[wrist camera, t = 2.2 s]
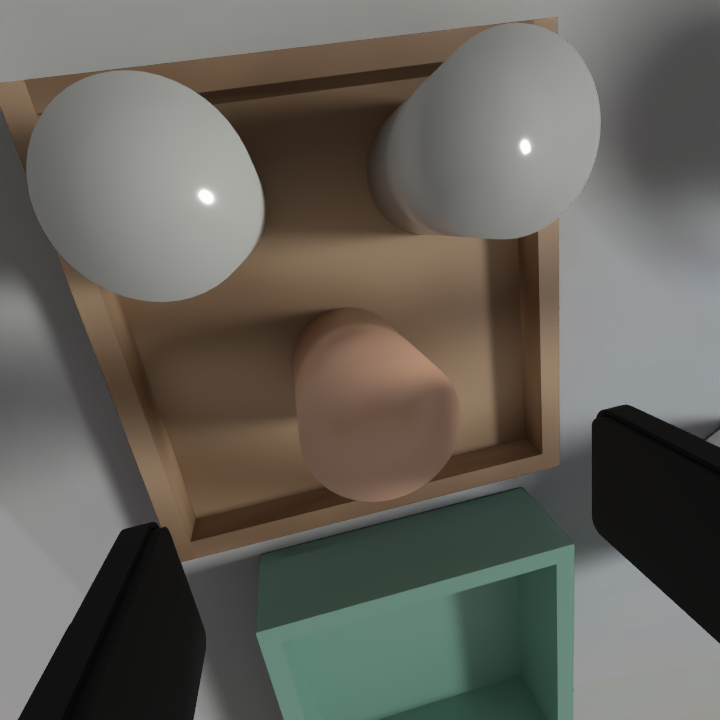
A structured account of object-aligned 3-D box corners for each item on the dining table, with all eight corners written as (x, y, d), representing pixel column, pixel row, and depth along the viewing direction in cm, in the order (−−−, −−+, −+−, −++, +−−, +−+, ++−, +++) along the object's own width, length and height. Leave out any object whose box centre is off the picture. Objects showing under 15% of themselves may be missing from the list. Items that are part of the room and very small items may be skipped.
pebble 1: (109, 144, 13) (-15, 85, 8) (250, 124, 14) (229, 56, 8) (153, 283, 15) (75, 319, 9) (279, 261, 15) (279, 282, 10)
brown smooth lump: (281, 319, 16) (282, 370, 10) (394, 297, 16) (454, 335, 11) (304, 423, 17) (316, 518, 12) (407, 400, 18) (466, 480, 12)
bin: (260, 554, 20) (255, 633, 16) (522, 487, 21) (574, 543, 17) (314, 737, 24) (320, 833, 20) (529, 669, 25) (572, 747, 22)
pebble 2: (357, 109, 14) (408, 35, 9) (480, 93, 15) (603, 12, 9) (376, 243, 16) (430, 253, 10) (488, 223, 16) (598, 223, 11)
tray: (32, 104, 13) (-9, 84, 11) (523, 42, 15) (557, 17, 13) (185, 529, 19) (175, 563, 17) (534, 443, 20) (559, 465, 19)
